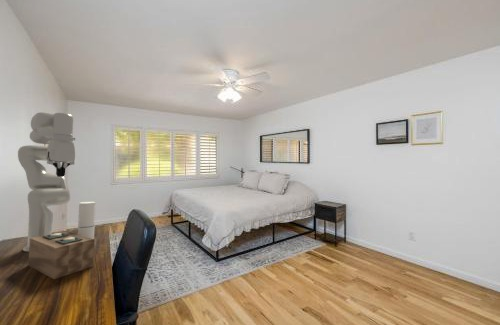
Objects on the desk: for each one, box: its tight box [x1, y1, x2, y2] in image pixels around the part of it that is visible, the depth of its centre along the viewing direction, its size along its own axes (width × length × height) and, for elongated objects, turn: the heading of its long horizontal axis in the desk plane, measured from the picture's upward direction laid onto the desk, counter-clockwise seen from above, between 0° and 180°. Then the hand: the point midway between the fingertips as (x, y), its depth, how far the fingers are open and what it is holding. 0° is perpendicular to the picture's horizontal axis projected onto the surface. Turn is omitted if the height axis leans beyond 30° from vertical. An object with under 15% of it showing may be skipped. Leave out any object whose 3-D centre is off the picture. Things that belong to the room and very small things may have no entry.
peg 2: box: [63, 237, 75, 242], centre depth 97 cm, size 4×4×12 cm
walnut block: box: [27, 230, 95, 280], centre depth 100 cm, size 14×24×12 cm, turn 62°
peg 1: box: [50, 232, 62, 238], centre depth 103 cm, size 4×4×12 cm
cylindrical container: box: [77, 201, 97, 240], centre depth 121 cm, size 7×7×25 cm
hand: (60, 176), depth 110 cm, fingers closed
